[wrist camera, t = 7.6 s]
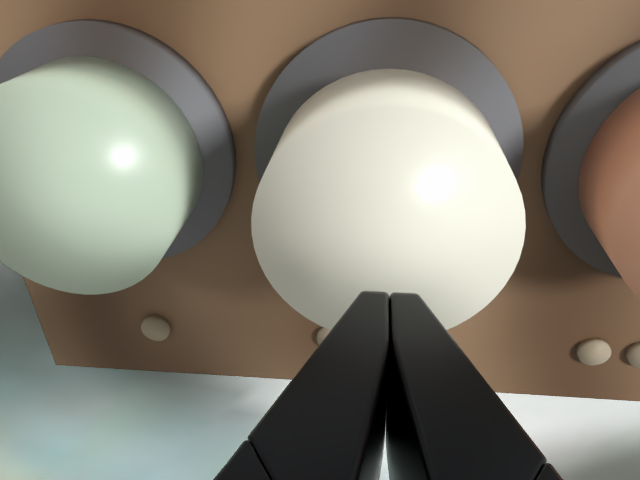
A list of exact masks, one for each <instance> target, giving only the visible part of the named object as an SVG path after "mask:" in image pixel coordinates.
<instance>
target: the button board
mask: <svg viewBox="0 0 640 480" xmlns="http://www.w3.org/2000/svg"><path fill="white" fill-rule="evenodd" d="M74 56H90V57H98V58H103V59H108V60H111V61H114V62H117V63H120V64H123V65H125V66H127V67H130V68H132V69H134V70H136V71H138V72H139V73H141V74H142V75H144V76H146V77H147V78H149V79H150V80H152V81H153V82H154V83H155V84H157V85H158V86H159V87H160V88H162V89H163V90H164V91H165V92H166V93H167V94H168V95H169V96H170V97H171V98H172V99H173V101H174V102H175V103H176V104H177V105H178V107H179V108H180V109H181V110H182V112H183V113H184V115H185V117H186V118H187V120H188V121H189V123H190V125H191V127H192V129H193V131H194V133H195V135H196V138H197V141H198V144H199V147H200V151H201V156H202V161H203V184H202V188H201V193H200V196H199V199H198V201H197V204H196V206H195V208H194V209H193V211H192V213H191V214H190V216H189V217H188V219H187V221H186V222H185V224H184V225H183V227H182V228H181V230H180V231H179V233H178V234H177V236H176V237H175V239H174V241H173V242H172V244H171V245H170V247H169V248H168V250H167V251H166V253H165V254H164V256H163V257H162V259H161V261H160V262H159V264H158V265H157V266H156V267H155V268H154V270H153V271H152V272H151V273H150V274H149V275H147V276H146V277H145V278H144V279H143V280H141V281H140V282H138V283H136V284H135V285H133V286H131V287H128V288H126V289H123V290H120V291H116V292H112V293H106V294H96V295H85V294H75V293H69V292H64V291H59V290H56V289H53V288H49V287H46V286H44V285H41V284H39V283H36V282H34V281H32V280H30V279H28V278H26V277H24V276H23V277H24V280H25V283H26V285H27V288H28V291H29V293H30V296H31V299H32V301H33V304H34V307H35V310H36V312H37V315H38V318H39V320H40V323H41V326H42V328H43V331H44V334H45V337H46V339H47V342H48V345H49V347H50V350H51V353H52V355H53V358H54V361H55V364H56V365H67V366H83V367H99V368H115V369H131V370H147V371H163V372H179V373H195V374H211V375H227V376H243V377H259V378H275V379H291V380H292V379H293V378H294V377H295V376H296V374H297V373H298V372H299V371H300V369H301V368H302V367H303V365H304V364H305V363H306V362H307V360H308V359H309V358H310V356H311V355H312V354H313V353H314V351H315V350H316V349H317V347H318V346H319V345H320V344H321V342H322V341H323V340H324V338H325V337H326V336H327V335H328V333H329V332H330V331H331V330H329V329H326V328H324V327H322V326H320V325H318V324H316V323H314V322H312V321H311V320H309V319H307V318H306V317H304V316H303V315H301V314H300V313H299V312H297V311H296V310H294V309H293V308H292V307H291V306H290V305H289V304H288V303H287V302H286V301H285V300H283V298H282V297H281V296H280V295H279V294H278V293H277V292H276V290H275V289H274V288H273V287H272V285H271V284H270V282H269V281H268V279H267V278H266V276H265V274H264V272H263V270H262V268H261V266H260V264H259V262H258V259H257V255H256V252H255V249H254V245H253V239H252V230H251V216H252V208H253V202H254V198H255V195H256V191H257V188H258V186H259V183H260V181H261V179H262V177H263V175H264V172H265V170H266V168H267V166H268V164H269V162H270V160H271V158H272V155H273V153H274V151H275V149H276V147H277V145H278V143H279V141H280V138H281V136H282V134H283V132H284V130H285V128H286V126H287V125H288V123H289V121H290V120H291V118H292V117H293V115H294V114H295V113H296V112H297V110H298V109H299V108H300V107H301V106H302V105H303V104H304V103H305V102H306V101H307V100H308V99H309V98H310V97H311V96H313V95H314V94H315V93H316V92H318V91H319V90H321V89H322V88H324V87H325V86H327V85H329V84H331V83H333V82H335V81H337V80H339V79H341V78H343V77H346V76H349V75H352V74H355V73H359V72H364V71H369V70H375V69H403V70H410V71H415V72H420V73H424V74H427V75H429V76H432V77H435V78H438V79H440V80H442V81H444V82H446V83H447V84H449V85H451V86H453V87H454V88H456V89H457V90H459V91H460V92H461V93H463V94H464V95H465V96H466V97H468V98H469V99H470V100H471V101H472V102H473V103H474V104H475V105H476V106H477V108H478V109H479V110H480V111H481V113H482V114H483V115H484V117H485V118H486V120H487V121H488V123H489V125H490V127H491V129H492V130H493V132H494V134H495V137H496V139H497V141H498V143H499V145H500V147H501V149H502V151H503V153H504V155H505V157H506V160H507V162H508V164H509V166H510V168H511V170H512V172H513V174H514V176H515V178H516V181H517V183H518V186H519V189H520V191H521V194H522V198H523V203H524V208H525V222H526V229H525V238H524V244H523V248H522V251H521V255H520V259H519V261H518V263H517V265H516V267H515V270H514V272H513V274H512V275H511V277H510V278H509V280H508V282H507V283H506V285H505V286H504V287H503V289H502V290H501V291H500V292H499V293H498V295H497V296H496V297H495V298H494V299H493V300H492V301H491V302H490V303H489V304H488V305H487V306H486V307H484V308H483V309H482V310H481V311H479V312H478V313H477V314H475V315H474V316H472V317H471V318H469V319H468V320H466V321H464V322H462V323H461V324H459V325H457V326H455V327H452V328H450V329H448V330H447V331H448V333H449V334H450V335H451V336H452V338H453V339H454V340H455V342H456V343H457V344H458V346H459V347H460V348H461V349H462V351H463V352H464V353H465V355H466V356H467V357H468V358H469V360H470V361H471V362H472V364H473V365H474V366H475V367H476V369H477V370H478V371H479V373H480V374H481V375H482V376H483V378H484V379H485V380H486V382H487V383H488V384H489V385H490V387H491V388H492V389H493V391H494V392H499V393H515V394H531V395H547V396H564V397H580V398H596V399H612V400H628V401H640V298H638V297H637V296H636V295H635V294H634V293H633V292H632V291H631V289H630V288H629V287H628V285H627V284H626V283H625V281H624V280H623V278H622V277H621V275H620V274H619V272H618V270H617V269H616V267H615V266H614V264H613V263H612V261H611V259H610V258H609V256H608V255H607V253H606V252H605V250H604V249H603V247H602V245H601V244H600V242H599V241H598V239H597V238H596V236H595V234H594V233H593V231H592V230H591V228H590V227H589V225H588V223H587V221H586V219H585V217H584V215H583V213H582V209H581V206H580V202H579V195H578V179H579V173H580V168H581V164H582V161H583V158H584V155H585V152H586V150H587V148H588V146H589V144H590V142H591V140H592V138H593V137H594V135H595V133H596V132H597V130H598V129H599V127H600V126H601V125H602V123H603V122H604V121H605V120H606V118H607V117H608V116H609V115H610V114H611V113H612V112H613V111H614V110H615V109H616V108H617V107H618V105H619V104H620V103H621V102H623V101H624V100H625V99H626V98H628V97H629V96H630V95H631V94H632V93H634V92H635V91H636V90H638V89H639V88H640V0H0V84H2V83H4V82H6V81H8V80H11V79H13V78H15V77H17V76H20V75H22V74H24V73H26V72H29V71H31V70H33V69H35V68H38V67H40V66H42V65H44V64H47V63H49V62H52V61H54V60H57V59H61V58H66V57H74Z"/></svg>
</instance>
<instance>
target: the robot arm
mask: <svg viewBox="0 0 640 480" xmlns="http://www.w3.org/2000/svg"><path fill="white" fill-rule="evenodd" d="M385 422H386V450H387V461H388V470H389V479H390V480H563V479H562V478H561V477H560V475H559V474H558V473H557V471H556V470H555V469H554V467H553V466H552V465H551V464H549V463H546V462H547V460H546V458H545V456H544V455H543V454H542V452H541V451H540V450H539V449H538V447H537V446H536V445H535V443H534V442H533V441H532V440H531V438H530V437H529V436H528V434H527V433H526V432H525V430H524V429H523V428H522V427H521V425H520V424H519V423H518V421H517V420H516V419H515V418H514V416H513V415H512V414H511V412H510V411H509V410H508V409H507V407H506V406H505V405H504V403H503V402H502V401H501V400H500V398H499V397H498V396H497V394H496V393H495V392H494V391H493V389H492V388H491V387H490V385H489V384H488V383H487V382H486V380H485V379H484V378H483V376H482V375H481V374H480V373H479V371H478V370H477V369H476V367H475V366H474V365H473V364H472V362H471V361H470V360H469V358H468V357H467V356H466V355H465V353H464V352H463V351H462V349H461V348H460V347H459V346H458V344H457V343H456V342H455V340H454V339H453V338H452V336H451V335H450V334H449V333H448V331H447V330H446V329H445V327H444V326H443V325H442V324H441V322H440V321H439V320H438V318H437V317H436V316H435V315H434V313H433V312H432V311H431V309H430V308H429V307H428V306H427V304H426V303H425V302H424V300H423V299H422V298H421V297H420V295H418V294H417V293H402V292H393V293H391V295H390V298H389V294H388V293H387V292H379V291H362V292H361V293H360V294H359V295H358V296H357V297H356V299H355V300H354V301H353V303H352V304H351V305H350V306H349V308H348V309H347V310H346V312H345V313H344V314H343V315H342V317H341V318H340V319H339V321H338V322H337V323H336V324H335V326H334V327H333V328H332V330H331V331H330V332H329V333H328V335H327V336H326V337H325V338H324V340H323V341H322V342H321V344H320V345H319V346H318V347H317V349H316V350H315V351H314V353H313V354H312V355H311V356H310V358H309V359H308V360H307V362H306V363H305V364H304V365H303V367H302V368H301V369H300V371H299V372H298V373H297V374H296V376H295V377H294V378H293V379H292V381H291V382H290V383H289V385H288V386H287V387H286V388H285V390H284V391H283V392H282V394H281V395H280V396H279V397H278V399H277V400H276V401H275V403H274V404H273V405H272V406H271V408H270V409H269V410H268V412H267V413H266V414H265V415H264V417H263V418H262V419H261V421H260V422H259V423H258V424H257V426H256V427H255V428H254V429H253V431H252V432H251V433H250V435H249V436H248V441H244V442H243V443H242V444H241V446H240V447H239V448H238V450H237V451H236V452H235V453H234V455H233V456H232V457H231V459H230V460H229V461H228V462H227V464H226V465H225V466H224V467H223V469H222V470H221V471H220V472H219V473H218V475H217V476H216V477H215V478H214V479H213V480H379V478H380V471H381V464H382V458H383V449H384V440H385Z"/></svg>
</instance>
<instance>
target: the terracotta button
mask: <svg viewBox="0 0 640 480" xmlns="http://www.w3.org/2000/svg"><path fill="white" fill-rule="evenodd" d="M578 195H579V202H580V206H581V209H582V213H583V215H584V217H585V219H586V221H587V223H588V225H589V227H590V228H591V230H592V231H593V233H594V234H595V236H596V238H597V239H598V241H599V242H600V244H601V245H602V247H603V249H604V250H605V252H606V253H607V255H608V256H609V258H610V259H611V261H612V263H613V264H614V266H615V267H616V269H617V270H618V272H619V274H620V275H621V277H622V278H623V280H624V281H625V283H626V284H627V285H628V287H629V288H630V289H631V291H632V292H633V293H634V294H635V295H636V296H637V297H638V298H640V88H639V89H638V90H636V91H635V92H634V93H632V94H631V95H630V96H629V97H628V98H626V99H625V100H624V101H623V102H621V103H620V104H619V105H618V107H617V108H616V109H615V110H614V111H613V112H612V113H611V114H610V115H609V116H608V117H607V118H606V120H605V121H604V122H603V123H602V125H601V126H600V127H599V129H598V130H597V132H596V133H595V135H594V137H593V138H592V140H591V142H590V144H589V146H588V148H587V150H586V152H585V155H584V158H583V161H582V164H581V168H580V173H579V179H578Z"/></svg>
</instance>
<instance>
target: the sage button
mask: <svg viewBox="0 0 640 480" xmlns="http://www.w3.org/2000/svg"><path fill="white" fill-rule="evenodd" d="M202 184H203V161H202V156H201V151H200V147H199V144H198V141H197V138H196V135H195V133H194V131H193V129H192V127H191V125H190V123H189V121H188V120H187V118H186V117H185V115H184V113H183V112H182V110H181V109H180V108H179V107H178V105H177V104H176V103H175V102H174V101H173V99H172V98H171V97H170V96H169V95H168V94H167V93H166V92H165V91H164V90H163V89H162V88H160V87H159V86H158V85H157V84H155V83H154V82H153V81H152V80H150V79H149V78H147V77H146V76H144V75H142V74H141V73H139V72H138V71H136V70H134V69H132V68H130V67H127V66H125V65H123V64H120V63H117V62H114V61H111V60H108V59H103V58H98V57H90V56H74V57H66V58H61V59H57V60H54V61H52V62H49V63H47V64H44V65H42V66H40V67H38V68H35V69H33V70H31V71H29V72H26V73H24V74H22V75H20V76H17V77H15V78H13V79H11V80H8V81H6V82H4V83H2V84H0V261H1V262H2V263H3V264H4V265H6V266H7V267H9V268H10V269H12V270H14V271H15V272H17V273H18V274H20V275H22V276H24V277H26V278H28V279H30V280H32V281H34V282H36V283H39V284H41V285H44V286H46V287H49V288H53V289H56V290H59V291H64V292H69V293H75V294H85V295H96V294H106V293H112V292H116V291H120V290H123V289H126V288H128V287H131V286H133V285H135V284H136V283H138V282H140V281H141V280H143V279H144V278H145V277H146V276H147V275H149V274H150V273H151V272H152V271H153V270H154V268H155V267H156V266H157V265H158V264H159V262H160V261H161V259H162V257H163V256H164V254H165V253H166V251H167V250H168V248H169V247H170V245H171V244H172V242H173V241H174V239H175V237H176V236H177V234H178V233H179V231H180V230H181V228H182V227H183V225H184V224H185V222H186V221H187V219H188V217H189V216H190V214H191V213H192V211H193V209H194V208H195V206H196V204H197V201H198V199H199V196H200V193H201V188H202Z"/></svg>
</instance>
